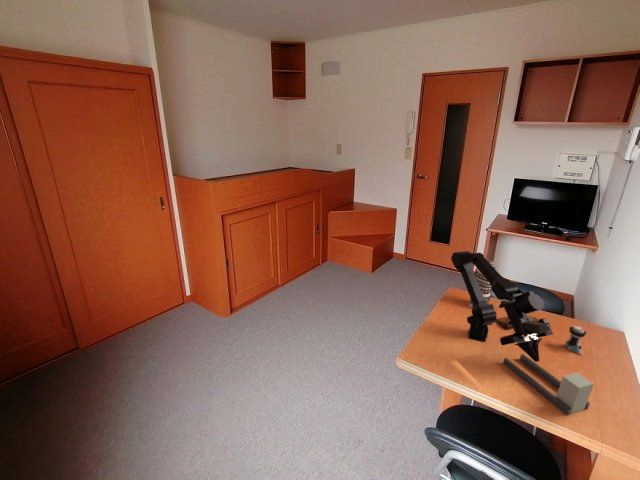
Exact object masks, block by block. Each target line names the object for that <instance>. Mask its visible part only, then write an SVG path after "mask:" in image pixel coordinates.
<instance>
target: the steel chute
mask: <svg viewBox="0 0 640 480" xmlns="http://www.w3.org/2000/svg"><path fill="white" fill-rule="evenodd" d="M519 361H521V362H522V363H523V364H525V365H526V366H527V367H528V368H529V369H531V370H533V371H534V372H535V373H536V374H537V375H539V376H540V377H542V378H543V379H544V380H546V381H547V382H549V384H551V385H552V386H554V387H555V388H556V389H558V390H559V387H560V384H561V381H562V380H559V379H558V378H557V377H555V376H554V375H552V374H551V373H550V372H548V371H547V370H546V369H545V368H543V367H541V366H540V365H539V364H538V363H536V362H535V361H534V360H533V359H530V358H529V357H528V356H526V355H525V354H523V353H522V354H520V356H519ZM502 364H503V365H504V366H505V367H506V368H507V369H509V370H511V372H513V373H514V374H515V375H516V376H517V377H519V378H520V379H521V380H523V381H524V382H525V383H526V384H528V385H529V386H530V387H531V388H532V389H534V391H536V392H537V393H539V394H540V395H541V396H542V397H543V398H545V399H546V401H548V402H550V403H551V404H552V405H553V406H554V407H556V408H557V409H558V410H559V411H560V412H562V413H563V414H564V415H566V416H568V417H569V416H570V415H571V414H570V412H571V408H570V407H569V406H567V405H566V404H565V403H563V402H562V401H561V400H560V399H558V398H557V397H556V396H557V395H555V394H554V393H552V392H551V391H550V390H548V389H547V388H546V387H544V385H542V384H541V383H539V382H538V381H537V380H535V379H534V378H532V377H531V376H530V375H529V374H528V373H526V372H525V371H524V370H522V369H521V368H520V367H519V366H517V365H516V364H515V363H513V362H512V360H509V359H508V358H507V357H506V358H503V361H502ZM590 404H591V402H589V400H588V401H587V404H586V406H585V409H584V410H588V409H589V407H590Z"/></svg>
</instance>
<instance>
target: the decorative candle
mask: <svg viewBox="0 0 640 480" xmlns="http://www.w3.org/2000/svg"><path fill="white" fill-rule="evenodd" d="M485 259H486V260H487V261H488V262H489V263H490V264H491V265H492V266H493V268H494V269H495V270H496V267H497V266H498V264H497V263H496V262H495V261H494V260H493V259H490V258H485ZM474 274H475V276H476V279H477V282H478V284H479V287H480V289H481V292H482V294H483V297H484V299H485V301H486V302H487V303H488V304H490V299H491V291H492V290H491V284H490V283H489V281H488V280H487V279H486V278H485V277H484V276H483V275H482V273H481V272H480V271H479V270H478V269H477V268H476V267H475V269H474ZM469 298H470V297H469ZM468 305H469V307H470V308H471V309H472V307H473V303H472V301H471V298H470V299H469V304H468Z"/></svg>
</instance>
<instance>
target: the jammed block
mask: <svg viewBox="0 0 640 480" xmlns="http://www.w3.org/2000/svg"><path fill="white" fill-rule="evenodd" d="M560 381H561V384H560V387H559V389H558V390H557V393H556V395H555V396H556V397H557V398H558V399H560V400H561V401H562V402H563V403H565V404H566V405H567V406H569V407H570V408H571V412H570V415H571V414H575V413H578V412H581V411H584V410H586V409H585V406H586V404H587V401H588V402H589V398H590V395H591V393H592V389H593V388H594V383H593V382H592V381H590V380H588V378H586V377H584V376H583V375H581V374H580V373H578V372H574V373H571V374H567V375H564V376H563V375H562V377H561V380H560Z"/></svg>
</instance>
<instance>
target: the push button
mask: <svg viewBox="0 0 640 480" xmlns="http://www.w3.org/2000/svg"><path fill="white" fill-rule="evenodd" d="M569 333H570V335H569V339H567V340H566V341H565V342H564V343H565V344H564V347H565V348H566V349H568V350H569V351H572V352H573V353H576V354H577V353H579V354H580V355H584V351H583V350H582V346H581V344H580V343H581V340H582V338H584V337H585V336H586V335H587V331H586V330H585V328H584V327H581V326H580V325H572V326H570V327H569Z"/></svg>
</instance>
